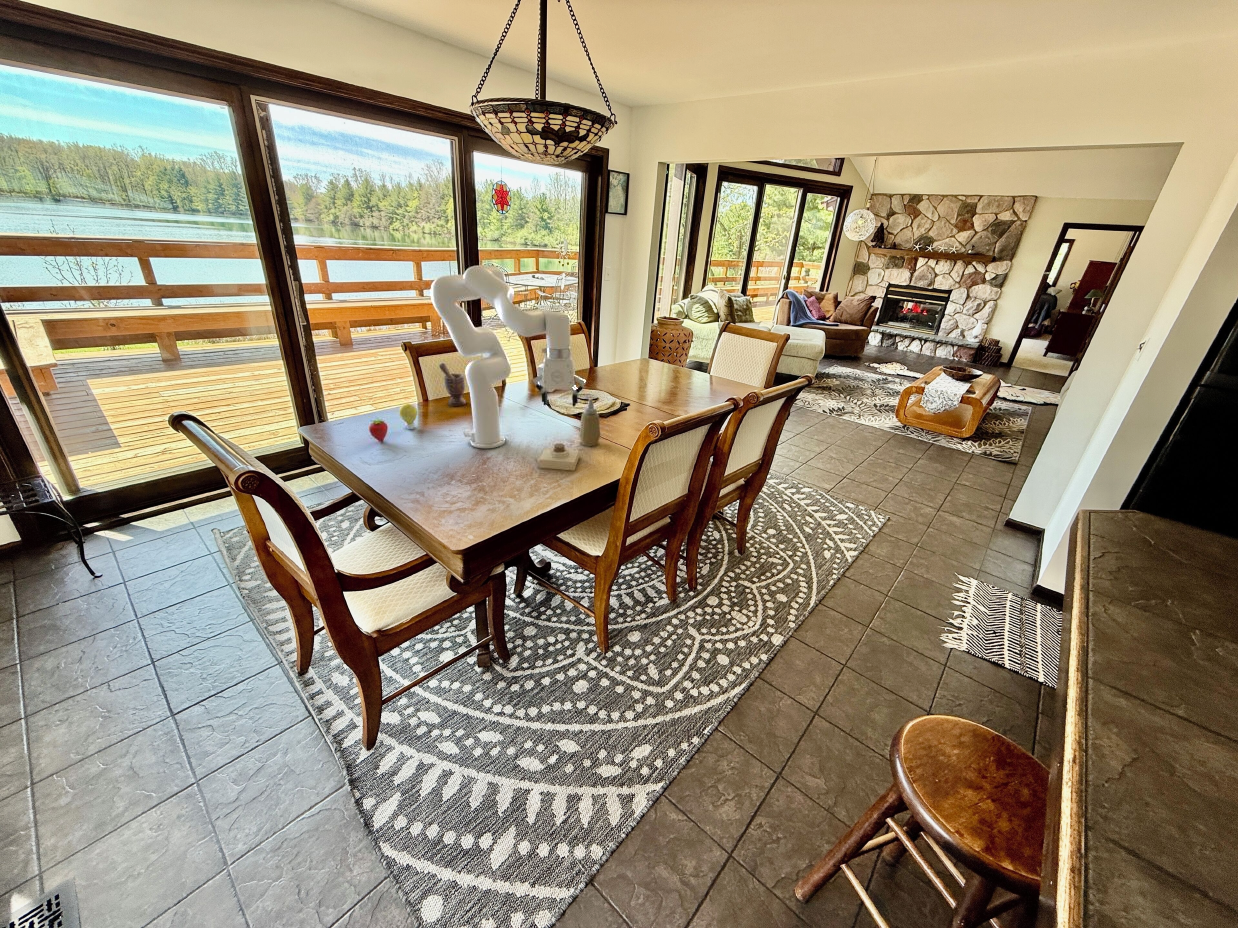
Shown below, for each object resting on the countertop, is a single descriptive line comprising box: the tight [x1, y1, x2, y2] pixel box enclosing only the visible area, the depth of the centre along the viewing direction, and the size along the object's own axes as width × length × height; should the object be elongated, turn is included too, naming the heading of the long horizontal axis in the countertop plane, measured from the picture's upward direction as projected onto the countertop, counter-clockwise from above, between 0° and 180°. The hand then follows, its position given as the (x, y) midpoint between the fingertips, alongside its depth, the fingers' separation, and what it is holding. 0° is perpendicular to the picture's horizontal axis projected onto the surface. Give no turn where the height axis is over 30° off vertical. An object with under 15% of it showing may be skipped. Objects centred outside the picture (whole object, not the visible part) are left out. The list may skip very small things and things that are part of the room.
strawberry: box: [368, 417, 389, 443], centre depth 175 cm, size 6×8×10 cm
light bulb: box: [398, 403, 418, 430], centre depth 188 cm, size 7×7×10 cm
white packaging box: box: [537, 363, 556, 393], centre depth 242 cm, size 7×7×13 cm
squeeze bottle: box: [579, 397, 601, 447], centre depth 181 cm, size 8×8×18 cm
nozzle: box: [553, 443, 566, 452], centre depth 166 cm, size 4×4×2 cm
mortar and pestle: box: [438, 362, 467, 407], centre depth 214 cm, size 12×9×20 cm
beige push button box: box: [538, 446, 580, 471], centre depth 167 cm, size 12×10×5 cm
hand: (559, 404), depth 159 cm, fingers open, 9 cm apart
